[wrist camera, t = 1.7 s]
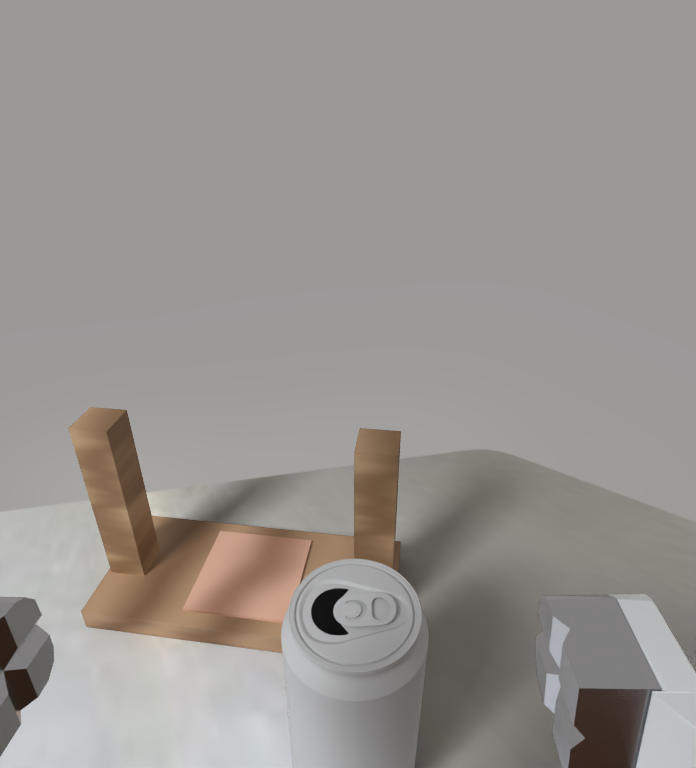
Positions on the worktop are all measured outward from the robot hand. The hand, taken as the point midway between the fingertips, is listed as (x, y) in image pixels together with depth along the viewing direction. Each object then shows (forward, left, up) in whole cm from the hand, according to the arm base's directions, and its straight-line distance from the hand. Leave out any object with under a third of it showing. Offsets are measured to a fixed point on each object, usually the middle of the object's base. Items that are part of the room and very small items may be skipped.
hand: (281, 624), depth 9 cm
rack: (-9, +20, -24) cm, 32 cm away
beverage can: (0, +10, -24) cm, 26 cm away
